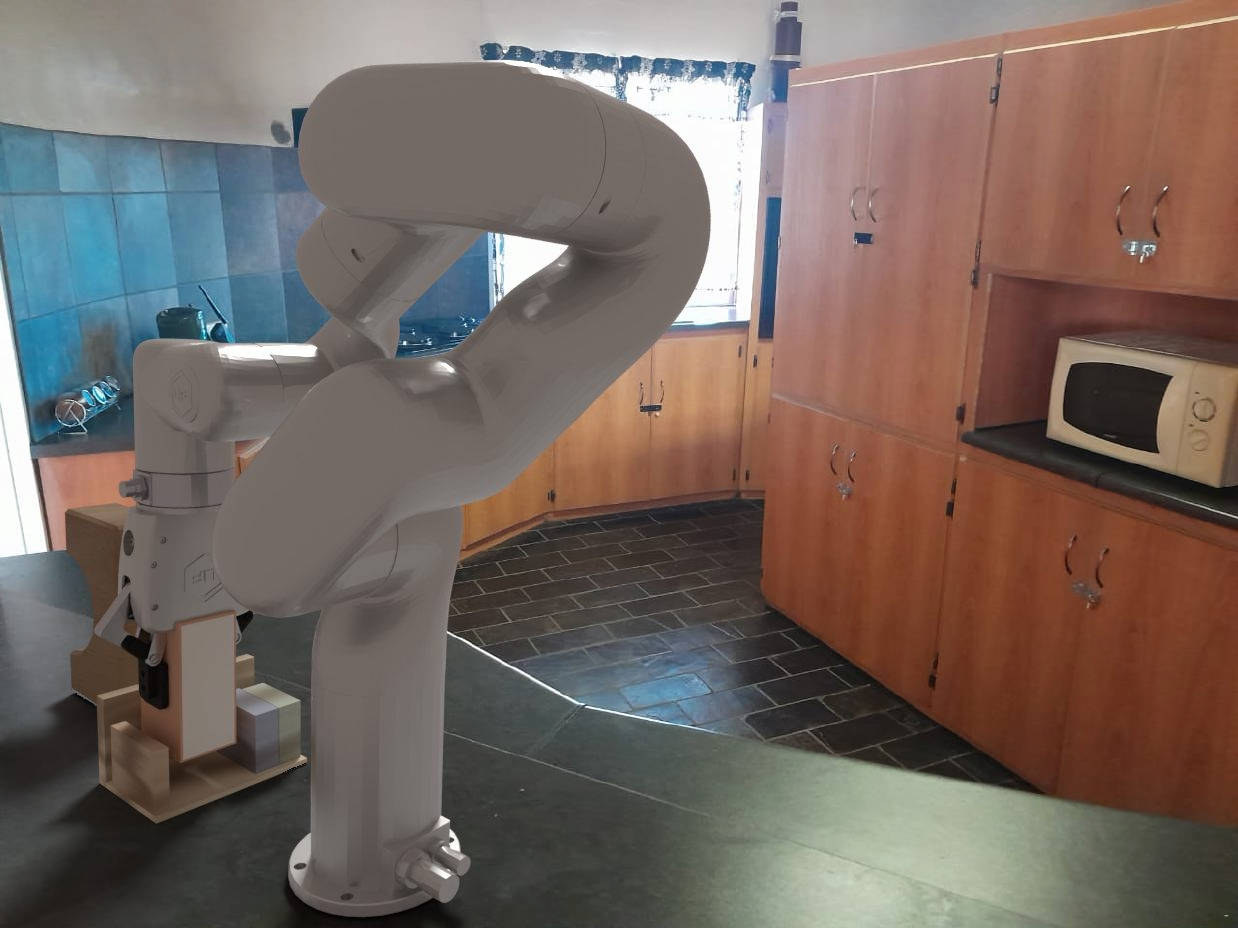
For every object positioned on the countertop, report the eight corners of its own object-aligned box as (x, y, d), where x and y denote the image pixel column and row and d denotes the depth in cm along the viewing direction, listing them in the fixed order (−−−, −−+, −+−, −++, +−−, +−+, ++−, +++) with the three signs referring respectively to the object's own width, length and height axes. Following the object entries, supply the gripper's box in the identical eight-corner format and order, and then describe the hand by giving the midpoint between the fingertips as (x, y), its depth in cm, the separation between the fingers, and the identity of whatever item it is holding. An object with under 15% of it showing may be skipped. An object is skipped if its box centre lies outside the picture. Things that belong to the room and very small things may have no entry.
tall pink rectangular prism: (236, 743, 80) (236, 611, 79) (180, 763, 76) (179, 624, 75) (196, 720, 84) (195, 594, 82) (141, 738, 80) (138, 605, 78)
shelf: (307, 762, 85) (307, 680, 84) (156, 823, 74) (154, 729, 73) (247, 731, 91) (247, 653, 90) (99, 783, 80) (96, 695, 79)
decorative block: (69, 693, 97) (62, 508, 94) (125, 678, 102) (120, 501, 99) (118, 725, 91) (112, 527, 88) (175, 708, 95) (172, 519, 92)
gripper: (100, 509, 68) (106, 740, 71) (302, 484, 82) (300, 679, 84) (55, 492, 72) (63, 711, 75) (253, 472, 86) (254, 658, 89)
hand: (188, 692), depth 80 cm, fingers closed on tall pink rectangular prism, 5 cm apart
